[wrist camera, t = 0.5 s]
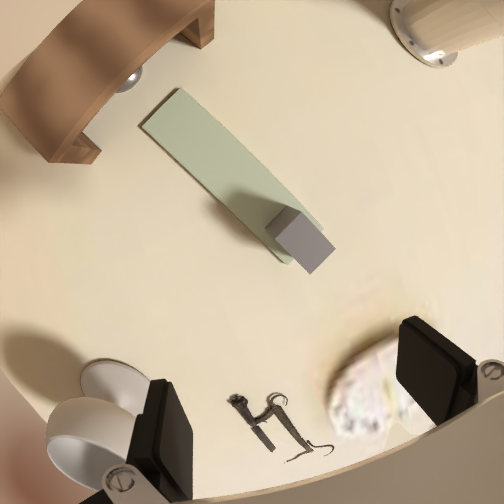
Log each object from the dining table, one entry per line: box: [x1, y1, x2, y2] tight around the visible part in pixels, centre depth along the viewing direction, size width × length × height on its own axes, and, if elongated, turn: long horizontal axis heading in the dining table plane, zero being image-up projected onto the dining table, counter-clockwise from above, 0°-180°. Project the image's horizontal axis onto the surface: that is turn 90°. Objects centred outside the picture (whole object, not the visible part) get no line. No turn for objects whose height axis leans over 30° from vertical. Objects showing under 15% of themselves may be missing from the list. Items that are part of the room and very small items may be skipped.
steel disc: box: [115, 66, 142, 93], centre depth 27 cm, size 5×5×1 cm
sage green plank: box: [142, 88, 336, 274], centre depth 29 cm, size 6×22×7 cm, turn 45°
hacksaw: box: [231, 395, 334, 462], centre depth 42 cm, size 24×10×2 cm, turn 24°
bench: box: [0, 0, 215, 164], centre depth 23 cm, size 20×10×10 cm, turn 136°
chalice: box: [46, 361, 150, 492], centre depth 30 cm, size 14×14×15 cm
